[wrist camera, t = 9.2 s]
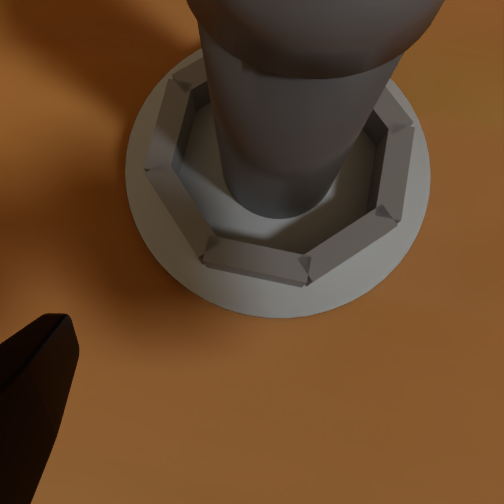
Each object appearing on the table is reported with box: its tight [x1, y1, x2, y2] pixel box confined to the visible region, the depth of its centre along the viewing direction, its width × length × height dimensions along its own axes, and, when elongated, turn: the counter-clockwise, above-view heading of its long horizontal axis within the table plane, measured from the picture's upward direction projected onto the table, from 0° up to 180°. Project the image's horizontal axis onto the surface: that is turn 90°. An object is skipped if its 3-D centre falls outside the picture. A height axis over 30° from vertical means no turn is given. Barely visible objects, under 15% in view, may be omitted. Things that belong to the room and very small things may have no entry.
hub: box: [125, 48, 431, 318], centre depth 17 cm, size 13×13×2 cm
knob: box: [187, 0, 445, 219], centre depth 12 cm, size 5×5×12 cm
